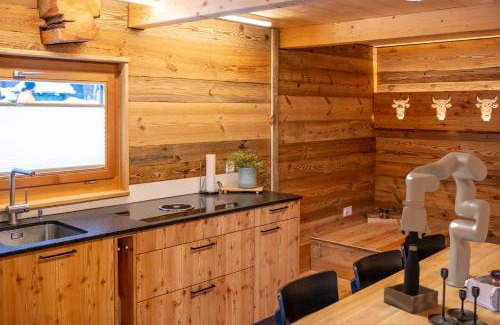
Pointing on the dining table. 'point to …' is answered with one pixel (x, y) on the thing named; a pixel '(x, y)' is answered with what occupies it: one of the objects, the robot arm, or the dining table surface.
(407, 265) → the wine bottle
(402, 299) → the crate
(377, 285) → the dining table surface
